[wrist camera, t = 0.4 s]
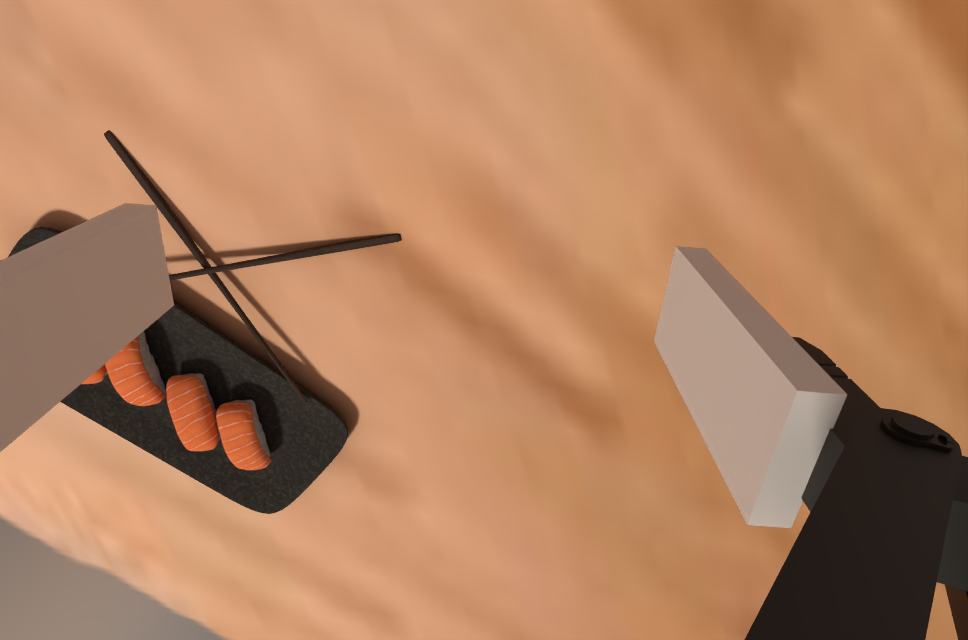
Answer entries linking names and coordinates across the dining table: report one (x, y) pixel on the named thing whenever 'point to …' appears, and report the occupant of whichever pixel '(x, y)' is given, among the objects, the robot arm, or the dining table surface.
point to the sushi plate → (213, 391)
